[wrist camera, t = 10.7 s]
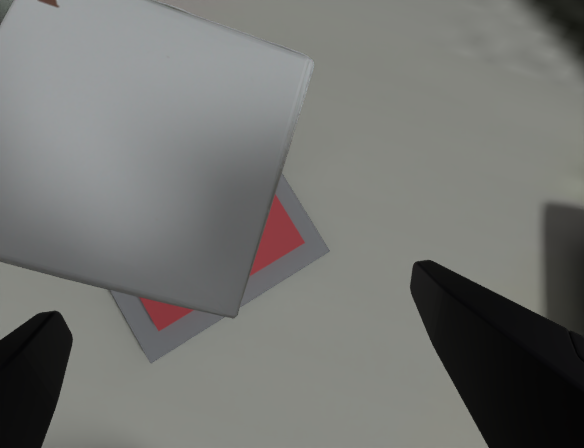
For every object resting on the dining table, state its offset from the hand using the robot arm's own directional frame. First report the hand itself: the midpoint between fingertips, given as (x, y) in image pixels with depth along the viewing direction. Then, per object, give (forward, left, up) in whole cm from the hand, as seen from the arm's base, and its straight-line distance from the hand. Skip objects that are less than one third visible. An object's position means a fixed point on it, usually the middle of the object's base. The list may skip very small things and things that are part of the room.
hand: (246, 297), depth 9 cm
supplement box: (0, +5, -11) cm, 12 cm away
